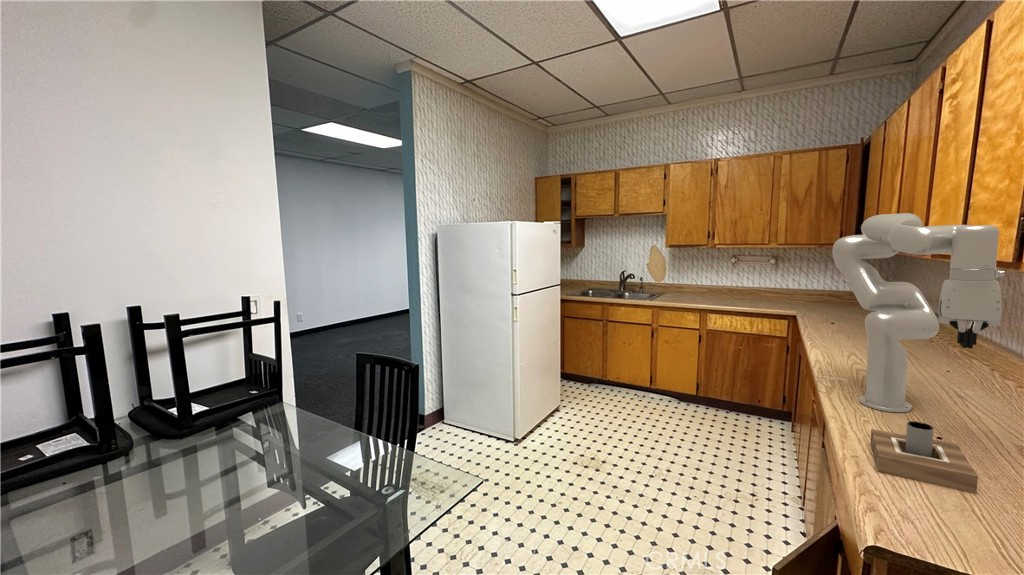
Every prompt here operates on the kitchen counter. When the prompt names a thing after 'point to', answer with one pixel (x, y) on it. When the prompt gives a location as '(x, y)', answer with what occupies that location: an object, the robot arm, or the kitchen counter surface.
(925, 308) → the robot arm
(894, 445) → the brown flat square frame
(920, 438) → the grey hollow tube
